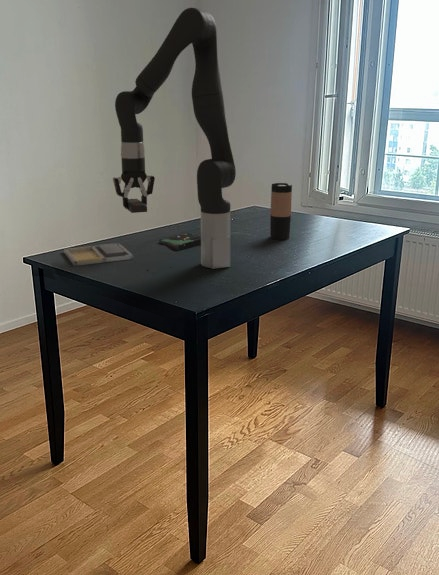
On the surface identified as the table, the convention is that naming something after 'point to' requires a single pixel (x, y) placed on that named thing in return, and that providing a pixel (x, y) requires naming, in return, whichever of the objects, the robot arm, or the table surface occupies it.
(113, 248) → the blank panel
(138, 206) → the usb drive
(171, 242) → the disk drive
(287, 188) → the travel mug
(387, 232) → the table surface
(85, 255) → the tray
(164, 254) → the table surface
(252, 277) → the table surface
